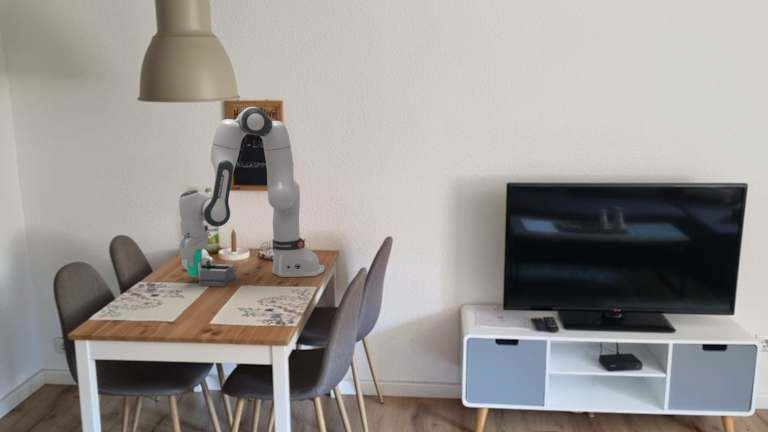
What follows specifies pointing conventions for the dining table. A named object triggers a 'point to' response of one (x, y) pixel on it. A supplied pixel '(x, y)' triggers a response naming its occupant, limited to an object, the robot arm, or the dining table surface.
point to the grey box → (217, 275)
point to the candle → (194, 269)
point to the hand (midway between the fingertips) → (195, 263)
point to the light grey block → (203, 265)
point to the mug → (204, 255)
